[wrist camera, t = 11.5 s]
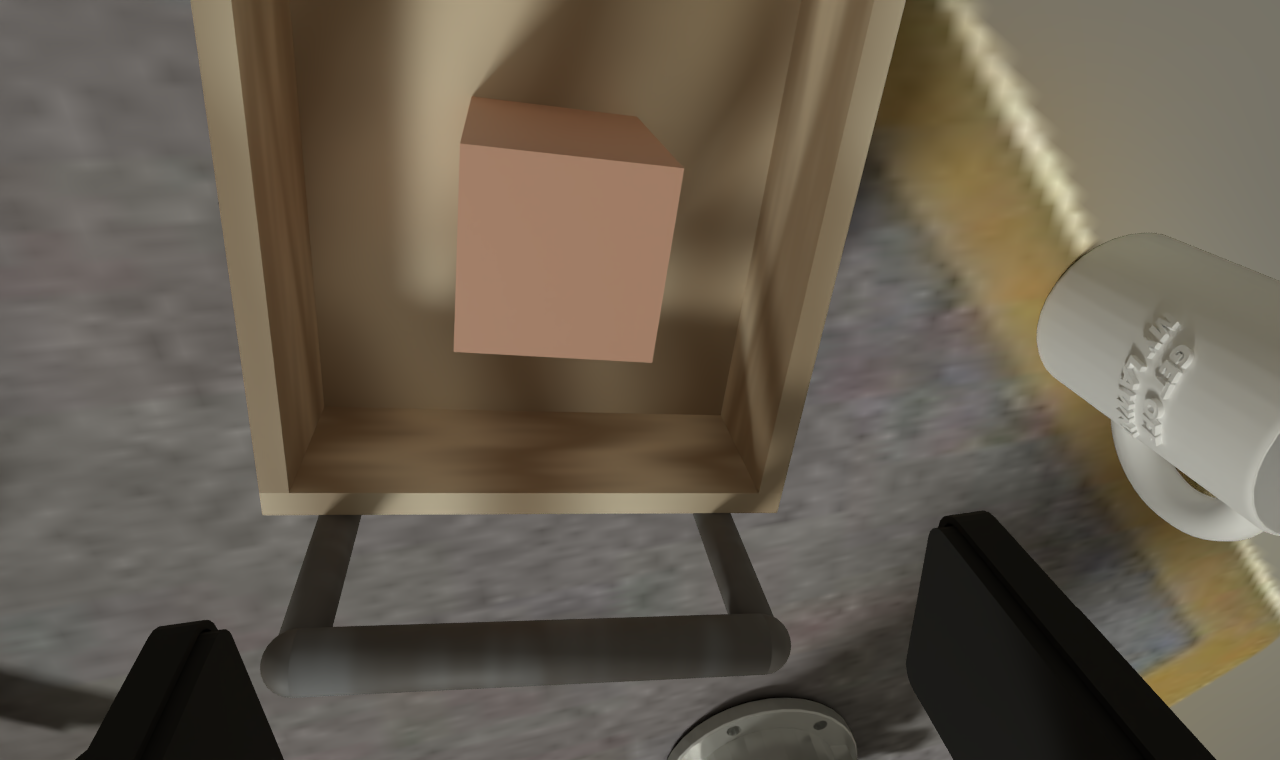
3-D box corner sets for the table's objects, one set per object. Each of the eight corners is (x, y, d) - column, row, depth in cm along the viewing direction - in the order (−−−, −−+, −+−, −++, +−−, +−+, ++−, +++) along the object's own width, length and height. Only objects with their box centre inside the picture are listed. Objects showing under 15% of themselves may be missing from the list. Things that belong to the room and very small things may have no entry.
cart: (799, -95, 25) (1120, -166, 12) (706, 410, 34) (832, 683, 21) (280, -180, 22) (-46, -398, 9) (328, 402, 31) (201, 716, 18)
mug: (1010, 462, 40) (1190, 637, 29) (1041, 248, 34) (1281, 371, 23) (1154, 433, 40) (1381, 594, 30) (1210, 217, 34) (1516, 324, 24)
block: (616, 269, 26) (652, 363, 20) (465, 257, 25) (453, 351, 18) (637, 116, 23) (684, 168, 17) (471, 96, 22) (459, 143, 16)
